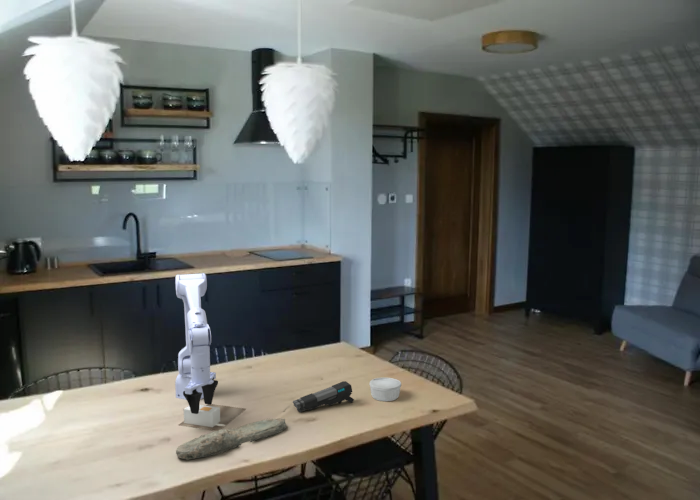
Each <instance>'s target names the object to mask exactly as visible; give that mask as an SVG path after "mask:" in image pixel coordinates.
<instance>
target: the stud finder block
mask: <svg viewBox="0 0 700 500" xmlns="http://www.w3.org/2000/svg"><path fill="white" fill-rule="evenodd" d="M183 421H184V423H187V424H194V425H200V426H207V427H214V426H215V425H216V424H218V423H219V422H220V408H219V407H212V406H206V405H202V404H199V413H198V414H193V413H191V410H190V407H189V405H188V406H186V407H185V408H183Z"/></svg>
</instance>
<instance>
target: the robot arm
mask: <svg viewBox="0 0 700 500" xmlns="http://www.w3.org/2000/svg"><path fill="white" fill-rule="evenodd" d="M174 284H175V294H176V297H177V298H178V299H180V300H182V302H183V307H184V308H183V310H184V325H185V326H184V327H185V328H184V329H185V346H184V347H182V348H181V350H180V351H179V352H178V354H177V357H178V358H177V366H178V367H177V368H178V369H177V370H178V374H177V376H176V379H175V381H174V383H175V384H174V385H175V398H176V399H180V400H185V401H186V402H187V403H188V406H189V407H190V410H191V413H193V414H198V413H199V405H201V404H200V402H201V400H202V399H203V402H204V404H205V405H208V404H210V405H211V404H213V399H214V394H215V391H216V389H217V387H218V385H219V380H217V372H213V371H211V353H210V351H211V350H210V346H211V345H212V344H211V343H212V332H211V327H210V326H209V324H208V319H207V315H206V311H205V310H204V309H203V308H202V300H201V297H204V296H205V294H206V292H207V289H208V288H207V287H208V280H207V274H206V273H205V272H202V273H192V274H191V273H190V274H189V273H188V274H187V273H186V274H176V275H175V282H174Z"/></svg>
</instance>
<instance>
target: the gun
mask: <svg viewBox="0 0 700 500" xmlns="http://www.w3.org/2000/svg"><path fill="white" fill-rule="evenodd" d="M352 394H353V387H352V384H351V383H349V382H348V381H345V380H344V381H341V382H338V383H336V384H333V385H331V386H329V387H326V388H324V389H321V390H319V391H316V392H314V393H309V394H306V395H304V396H301V397H300V398H297V399H295V400H293V401H292V403H293V404H292V405H293V406H294V407H295V409H296V410H297V412H299V413H302V412H305V411H312V410H314V409H317V408H319V407H321V406H323V405H325V406H328V407H330V406H333V405H336V404H339V405H340V404H341V403H342V402H343V401H347V402H348V403H350V404H351V403H353V402H354V400H355V398H353V397H351V395H352Z"/></svg>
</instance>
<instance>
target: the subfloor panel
mask: <svg viewBox="0 0 700 500" xmlns="http://www.w3.org/2000/svg"><path fill="white" fill-rule="evenodd" d="M205 406H212V407H219V408H220V422H219V423H218V424H216V425H215V426H214V427H207V426H200V425H194V424H187V423H184V420H183V421H182V422H181V423H179V424H178V426H181V427H188V428H195V429H201V430H206V431H212V432H214V431H216V430H223V428H225V427H226V426H227V425H228V424H230V423H231V422H232V421H233V420H234V419H236V418H237V417H238V416H240V415H241V414H242V413H243V412H245V411H246V410H247V408H245V407H243V408H242V407H236V406H228V405H222V404H214V403H212V404H211V405H210V404H205Z"/></svg>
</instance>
